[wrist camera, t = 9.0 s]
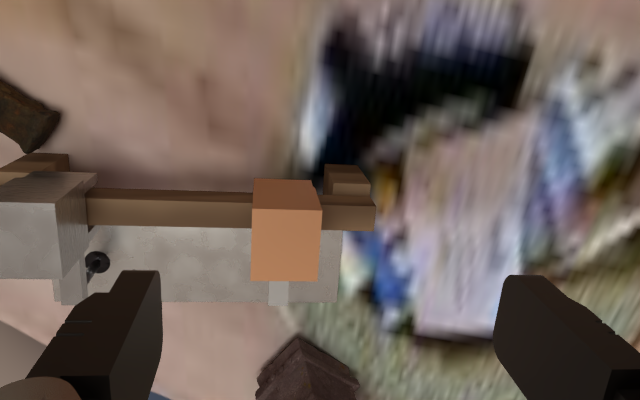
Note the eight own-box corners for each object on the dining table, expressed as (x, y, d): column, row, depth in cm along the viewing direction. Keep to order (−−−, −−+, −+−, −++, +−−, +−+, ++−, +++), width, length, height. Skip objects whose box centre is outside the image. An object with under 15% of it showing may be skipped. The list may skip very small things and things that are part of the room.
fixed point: (57, 152, 40) (-27, 201, 29) (114, 154, 41) (54, 203, 29) (70, 271, 44) (-1, 358, 32) (121, 271, 44) (71, 357, 33)
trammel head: (255, 159, 42) (252, 208, 31) (306, 161, 43) (322, 210, 31) (252, 272, 46) (248, 355, 34) (299, 273, 46) (311, 355, 35)
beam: (30, 152, 42) (-26, 181, 34) (357, 165, 45) (377, 193, 37) (35, 197, 43) (-17, 235, 35) (353, 206, 46) (372, 243, 38)
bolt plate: (49, 215, 43) (45, 219, 42) (341, 222, 47) (343, 226, 46) (59, 295, 46) (54, 301, 45) (335, 297, 49) (336, 302, 48)
